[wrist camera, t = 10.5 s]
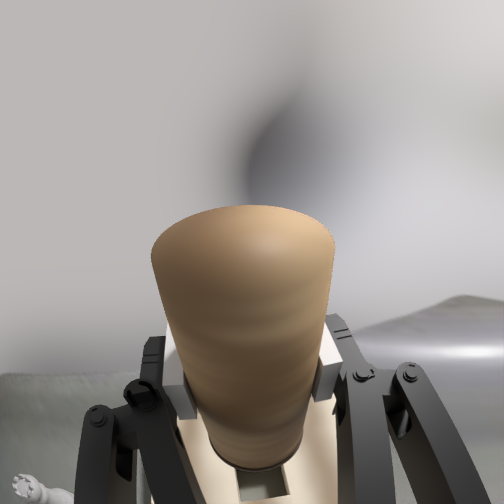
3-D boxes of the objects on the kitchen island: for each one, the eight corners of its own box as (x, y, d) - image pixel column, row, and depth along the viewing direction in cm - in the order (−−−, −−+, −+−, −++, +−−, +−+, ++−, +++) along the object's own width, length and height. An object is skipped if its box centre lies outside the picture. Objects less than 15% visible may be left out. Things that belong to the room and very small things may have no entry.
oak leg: (288, 411, 18) (305, 198, 11) (305, 476, 14) (373, 283, 6) (213, 420, 18) (160, 212, 10) (220, 488, 13) (130, 313, 6)
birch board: (337, 403, 30) (342, 390, 28) (385, 539, 14) (396, 537, 13) (161, 426, 28) (153, 415, 26) (166, 573, 12) (156, 574, 11)
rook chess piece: (82, 492, 19) (39, 467, 15) (85, 527, 15) (39, 510, 11) (50, 489, 18) (6, 462, 14) (52, 522, 14) (4, 501, 10)
